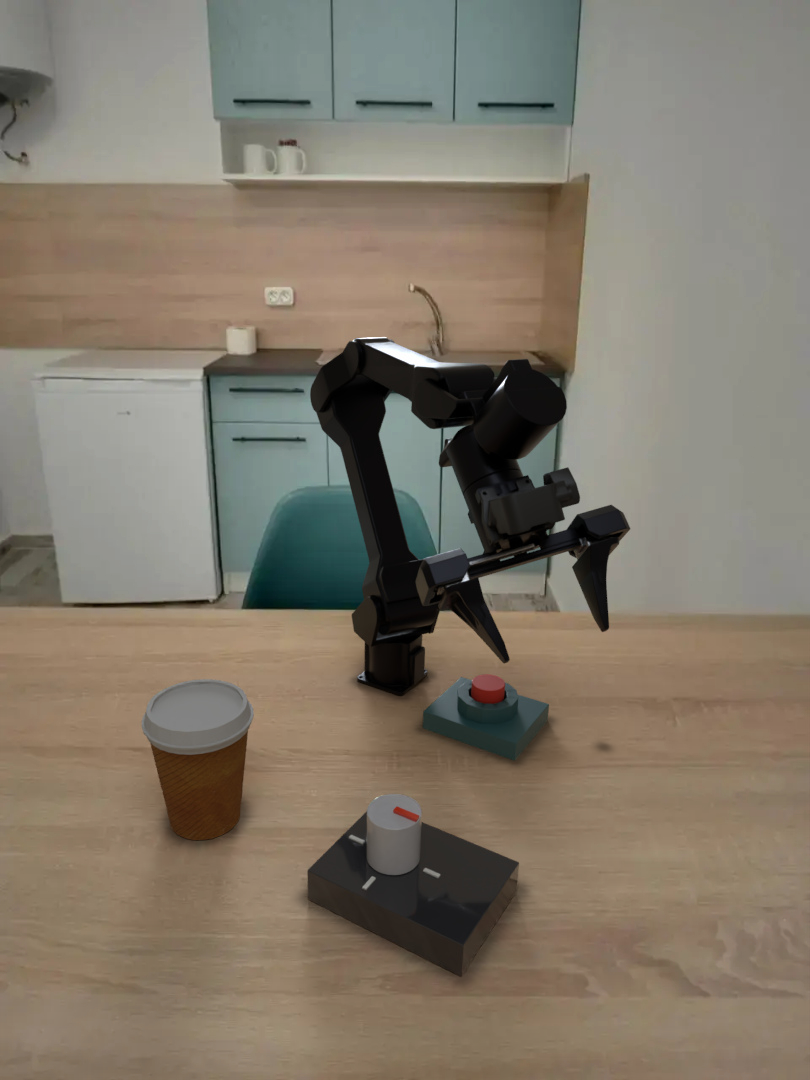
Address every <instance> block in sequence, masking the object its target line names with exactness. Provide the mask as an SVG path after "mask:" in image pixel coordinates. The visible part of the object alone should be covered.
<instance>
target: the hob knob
mask: <svg viewBox="0 0 810 1080" xmlns="http://www.w3.org/2000/svg"><path fill="white" fill-rule="evenodd" d="M366 811H367V849H366V857H367V861H368V863H369V865H370V866H371V867H372V868H373V869H374V870H376V871H378V872H380V873H382V874H386V875H401V874H405V873H407V872H410V871H411V870H413V869H414V868H415V867H416V866H417V865H418V863H419V861H420V850H421V823H422V822H423V810H422V807H421V805H420V803H419V802H418V801H417V800H416V799H414V798H412V797H411V796H409V795H405V794H401V793H386V794H383V795H379V796H377V797H376V798H374V799H372V801H370V803H369V804H368V805H367V808H366Z"/></svg>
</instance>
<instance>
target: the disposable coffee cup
mask: <svg viewBox="0 0 810 1080" xmlns="http://www.w3.org/2000/svg"><path fill="white" fill-rule="evenodd" d="M253 719H254V708H253V705H252V703H251V702H250V701H249V700H248V697H247V693H246V692H245V691H244V690H243V689H242V688H241V687H239V686H238V685H236V684H234V683H232V682H230V681H225V680H221V679H213V678H201V679H192V680H185V681H182V682H178V683H176V684H173V685H170V686H168V687H165V688H163V689H162V690H160V691H159V692H157V693H155V694H154V695H152V697H151V698H150V699H149V701H148V703H147V705H146V709H145V712H144V714H143V715H142V719H141V729H142V733H143V735H144V736H145V737H146V739H147V741H148V742H149V744H150V748H151V751H152V756H153V761H154V764H155V768H156V772H157V776H158V780H159V784H160V789H161V791H162V797H163V800H164V804H165V808H166V812H167V816H168V820H169V823H170V828H171V829H172V831H173V832H174V833H175V834H176V835H177V836H179V837H181V838H184V839H186V840H191V841H203V840H205V841H206V840H211V839H215V838H217V837H221V836H222V835H224V834H226V833H228V832H230V831H231V830H233V828H234V827H235V826H236V825H237V824H238V823H239V820H240V817H241V809H242V799H243V787H244V779H245V777H244V776H245V767H246V766H245V765H246V756H247V745H248V734H249V729H250V727H251V724H252V722H253Z"/></svg>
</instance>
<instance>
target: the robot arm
mask: <svg viewBox="0 0 810 1080" xmlns="http://www.w3.org/2000/svg"><path fill="white" fill-rule="evenodd" d="M393 392H394V393H396V394H398V395H400V396H402V397H404V398H406V399H407V400H409V401H410V402H411V407H410V408H411V409H410V412H411V413H412V414H413V415H414V416H415V417H416V418H417V419H418V420H420V422H422V424H424V425H425V426H426V427H427V428H429V429H431V430H439V429H441V430H442V429H448V428H450V429H451V428H460V429H458V430H457V432H456V433H455V434H454V435H453V436H452V437H447V438H445V439H444V445H443V448H442V451H441V452H440V454H439V457H438V466H439V467H440V468H449V467H452V470H453V473H454V476H455V478H456V481H457V484H458V486H459V489H460V491H461V494H462V496H463V499H464V501H465V504H466V506H467V510H468V511H467V517H468V519H469V522H470V524H472V525H474V528H475V530H476V532H477V535H478V538H479V541H480V544H481V546H482V550H483V552H482V554H478V555H475V556H471V557H468V556H467V553H466V552H465V551H464V550H463V549H462V548H461V547H459V548H456V549H452V550H448V551H445V552H442V553H439V554H434V555H431V556H427V557H425V558H422V559H419V558H418V557H417V556H416V555H415V554H414V553H413V552H412V551H411V549H410V547H409V544H408V539H407V536H406V533H405V529H404V525H403V520H402V517H401V513H400V509H399V506H398V502H397V498H396V495H395V491H394V487H393V483H392V479H391V475H390V472H389V468H388V464H387V460H386V457H385V454H384V450H383V449H384V448H383V445H382V442H381V438H380V433H381V432H380V431H381V429H382V425H383V423H384V420H385V417H386V413H387V408H386V400H387V399H388V398H389V396H390V395H391V393H393ZM309 397H310V404H311V407H312V410H313V411H314V412H315V413H316V416H317V419H318V421H319V425H320V428H321V430H322V431H323V432H324V433H325V435H326V436H328V437H329V439H330V440H331V441H333V442H334V443H335V444H336V445H337V446H338V447H339V449H340V452H341V456H342V460H343V464H344V467H345V472H346V475H347V480H348V484H349V488H350V492H351V495H352V499H353V503H354V506H355V507H354V508H355V510H356V514H357V518H358V523H359V526H360V530H361V535H362V538H363V542H364V546H365V550H366V553H367V557H368V566H367V569H366V573H365V576H364V578H363V583H362V585H361V590H362V596H363V601H361V602H360V604H359V605H358V606H357V607H356V609H354V611H353V612H352V613H351V621H352V627H353V632H354V633H355V634H356V635H357V636H358V637H359V638H360V639H361V640H362V641H363V642H364V657H363V658H364V664H363V666H364V670H363V671H362V672H361V673H359V674H358V675H357V676H356V681H357V682H358V683H361V684H363V685H367V686H369V687H373V688H376V689H379V690H381V691H384V692H388V693H391V694H394V695H396V696H404V695H405V694H406V693H407V692H409V691H410V690H411V689H412V688H414V687H415V686H416V685H417V684H418V683H419V682H421V681H422V680H423V679H425V677H427V675H428V669H426V668H425V667H426V665H425V664H426V648H425V646H423V635H426V634H429V635H430V634H433V633H434V632H435V629H436V625H437V621H438V618H439V615H440V612H444V611H447V610H448V611H449V610H450V611H451V612H452V613H454V615H456V617H458V618H459V619H460V620H462V621H463V622H464V623H465V624H466V625H467V626H468V627H470V629H472V630H473V632H475V633H476V635H477V636H478V637H479V638H480V639H481V640H482V641H483V643H485V645H486V646H487V647H488V648H489V649H490V650H491V651H492V652H493V654H494V655H495V656H496V657H497V658H498V660H500V662H501V663H502V664H507V663H509V662H510V656H509V652H508V649H507V646H506V643H505V641H504V639H503V637H502V634H501V632H500V630H499V628H498V625H497V624H496V621H495V619H494V617H493V616H492V613H491V611H490V609H489V607H488V605H487V603H486V600H485V597H484V594H483V590H482V586H481V582H480V578H483V577H488V576H490V575H493V574H496V573H500V572H503V571H506V570H510V569H513V568H517V567H520V566H525V565H527V564H530V563H533V562H534V563H535V562H537V561H542V560H543V559H548V558H551V557H555V556H557V555H561V554H564V553H567V552H568V555H570V556H571V557H573V558H575V559H576V561H575V562H574V563H573V565H572V566H571V568H572V571H573V573H574V576H575V578H576V580H577V583H578V585H579V588H580V589H581V593H582V595H583V598H584V600H585V601H586V605H587V606H588V608H589V611H590V613H591V616H592V618H593V620H594V622H595V624H596V625H597V627H598V628H599V630H600V631H601V633H604V632H608V630H609V629H610V619H609V618H610V617H609V603H608V602H609V601H608V588H607V573H608V564H609V563H608V562H609V557H610V555H611V554H612V553H613V552H614V551H615V550H616V549H617V548H618V547H619V545H620V542H621V541H622V539H624V537H625V536H626V535H627V534H628V533H629V532H630V530H631V526H630V524H629V522H628V520H627V518H626V516H625V514H624V512H623V511H622V510H621V509H618V508H617V507H616V506H614V505H613V504H608V505H605V506H601V507H597V508H594V509H591V510H587V511H584V512H581V513H577V514H576V515H575V516H574V518H573V520H572V521H571V522H570V524H569V525H568V527H567V528H566V529H564V530H560V531H558V532H557V531H556V532H554V533H550V534H548V532H547V531H549V530H553V528H554V527H555V526H556V523H559V522H563V521H565V520H566V517H565V513H564V510H563V509H564V508H567V507H572V506H574V505H577V504H580V501H581V495H580V491H579V488H578V484H577V482H576V479H575V478H574V476H573V474H572V472H571V470H570V468H569V466H567V467H564V468H560V469H557V470H556V469H555V470H553V471H550V472H546V473H544V474H543V476H542V480H543V485H541V486H537V487H535V485H534V483H533V481H532V478H530V476H529V475H528V474H526V475H524V474H523V471H522V469H521V466H520V464H519V462H518V460H520V459H524V458H526V457H527V456H528V455H529V454H531V452H532V451H533V450H534V449H536V447H537V446H538V445H539V444H540V443H541V442H542V441H543V440H544V439H545V438H546V437H547V436H548V435H549V433H550V432H551V431H552V430H553V429H554V428H555V427H556V426H558V424H559V423H560V422H561V421H562V420H563V419H564V417H565V415H566V414H567V409H568V407H567V406H568V404H567V399H566V394H565V393H564V391H563V388H561V386H558V385H557V384H556V382H555V381H553V380H552V378H551V377H549V376H548V375H546V374H544V373H543V372H541V371H539V370H536V369H533V367H532V365H531V363H530V360H529V359H528V358H517V359H508V360H507V361H506V362H505V363H504V365H503V366H502V368H501V369H500V372H499V374H498V375H497V377H496V373H495V372H494V370H493V368H491V367H490V366H489V365H488V364H485V363H474V362H473V363H472V362H440V361H438V360H436V359H433V358H430V357H428V356H427V355H423V354H421V353H419V352H416V351H414V350H411V349H410V348H407V347H404V346H402V345H400V344H397V343H395V341H394V340H393V339H390V338H388V337H386V336H381V337H356V338H354V339H353V340H349V341H348V342H347V344H346V345H345V346H344V349H343V351H342V352H341V353H339V354H338V355H336V356H335V357H333V358H332V359H331V360H329V361H328V362H326V363H325V364H324V365H323V366H321V367H320V369H319V371H318V372H317V374H316V376H315V378H314V380H313V382H312V384H311V386H310V392H309Z"/></svg>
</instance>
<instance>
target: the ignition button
mask: <svg viewBox="0 0 810 1080" xmlns="http://www.w3.org/2000/svg"><path fill="white" fill-rule="evenodd" d="M471 680H472V689H471V697H472V698H473V699H474V700H475V701H478V702H481V703H487V704H495V703H499V702H502V701H503V700H504V694H505V683H506V681H505V680H504V679H503V678H501V676H498V675H496V674H492V673H491V674H490V673H489V674H488V673H483V674H478V675H476V676H474V677H473V678H472V679H471Z"/></svg>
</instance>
